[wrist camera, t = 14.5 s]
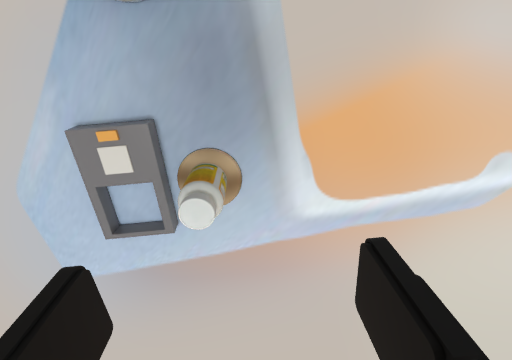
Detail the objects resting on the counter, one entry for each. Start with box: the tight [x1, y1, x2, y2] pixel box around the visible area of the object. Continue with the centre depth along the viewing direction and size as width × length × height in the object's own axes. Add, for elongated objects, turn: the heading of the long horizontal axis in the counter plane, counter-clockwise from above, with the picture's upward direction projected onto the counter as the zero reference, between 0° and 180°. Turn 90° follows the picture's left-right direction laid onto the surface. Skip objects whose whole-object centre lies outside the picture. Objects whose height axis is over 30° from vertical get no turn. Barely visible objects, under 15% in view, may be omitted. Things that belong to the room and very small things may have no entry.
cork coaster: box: [177, 148, 242, 205], centre depth 38 cm, size 9×9×1 cm
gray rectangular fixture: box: [65, 119, 178, 239], centre depth 37 cm, size 16×10×3 cm, turn 5°
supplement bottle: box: [178, 163, 227, 230], centre depth 33 cm, size 5×5×10 cm
